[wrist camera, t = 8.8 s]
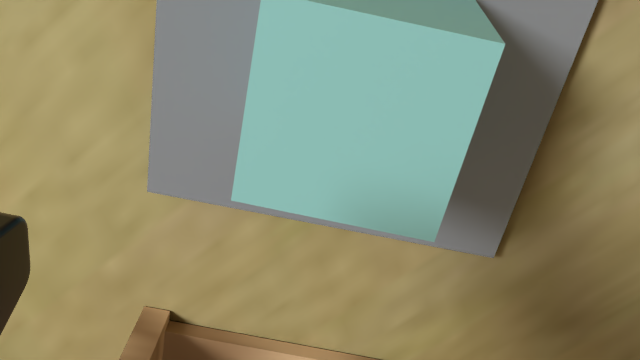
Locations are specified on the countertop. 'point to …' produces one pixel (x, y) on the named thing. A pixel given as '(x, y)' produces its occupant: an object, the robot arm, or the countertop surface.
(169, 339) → the crate
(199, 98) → the mat
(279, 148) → the cube
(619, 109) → the countertop surface
